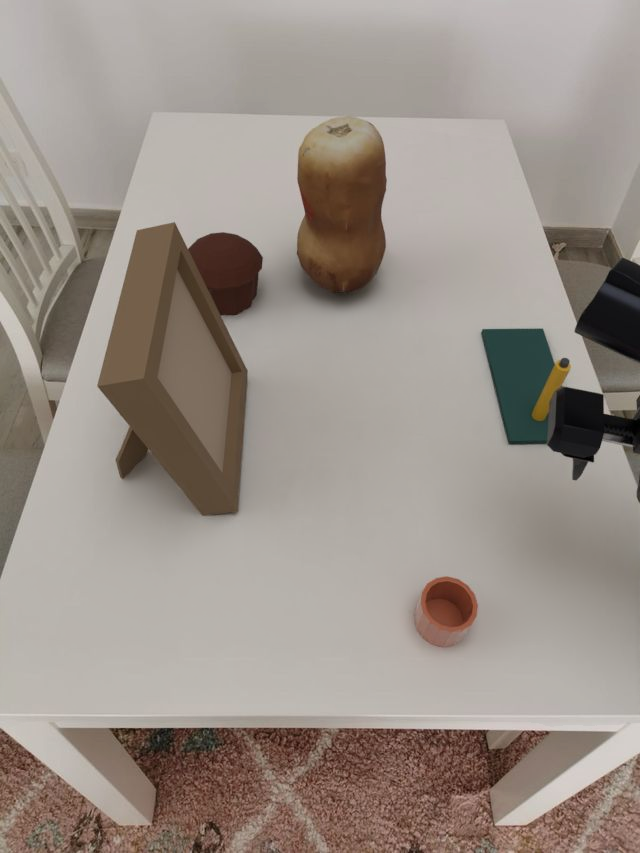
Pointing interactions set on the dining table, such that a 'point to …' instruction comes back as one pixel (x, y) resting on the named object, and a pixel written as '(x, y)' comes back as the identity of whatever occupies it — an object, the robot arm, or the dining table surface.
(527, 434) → the mat
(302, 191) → the butternut squash
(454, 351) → the dining table surface
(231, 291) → the muffin
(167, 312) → the photo frame
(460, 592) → the pencil cup
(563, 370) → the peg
